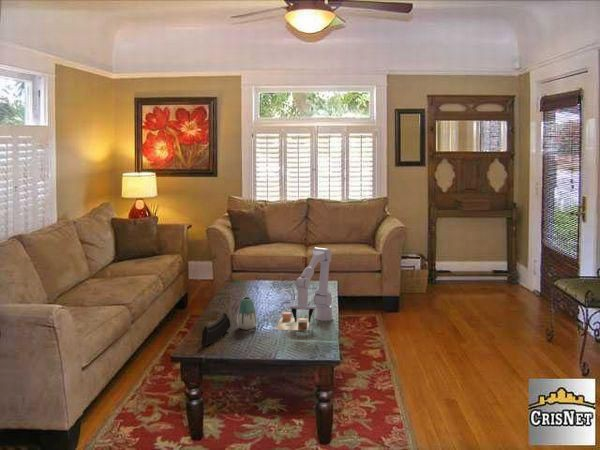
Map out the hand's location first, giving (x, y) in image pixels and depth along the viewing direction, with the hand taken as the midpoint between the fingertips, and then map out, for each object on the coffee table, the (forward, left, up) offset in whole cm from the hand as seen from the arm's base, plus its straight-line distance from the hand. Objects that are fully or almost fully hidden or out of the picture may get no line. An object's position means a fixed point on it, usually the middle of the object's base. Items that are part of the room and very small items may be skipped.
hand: (302, 321), depth 346 cm
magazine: (+45, +20, -5) cm, 50 cm away
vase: (+32, 0, -5) cm, 32 cm away
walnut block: (0, 0, -4) cm, 4 cm away
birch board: (+6, -8, -5) cm, 11 cm away
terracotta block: (+11, -16, -4) cm, 20 cm away
